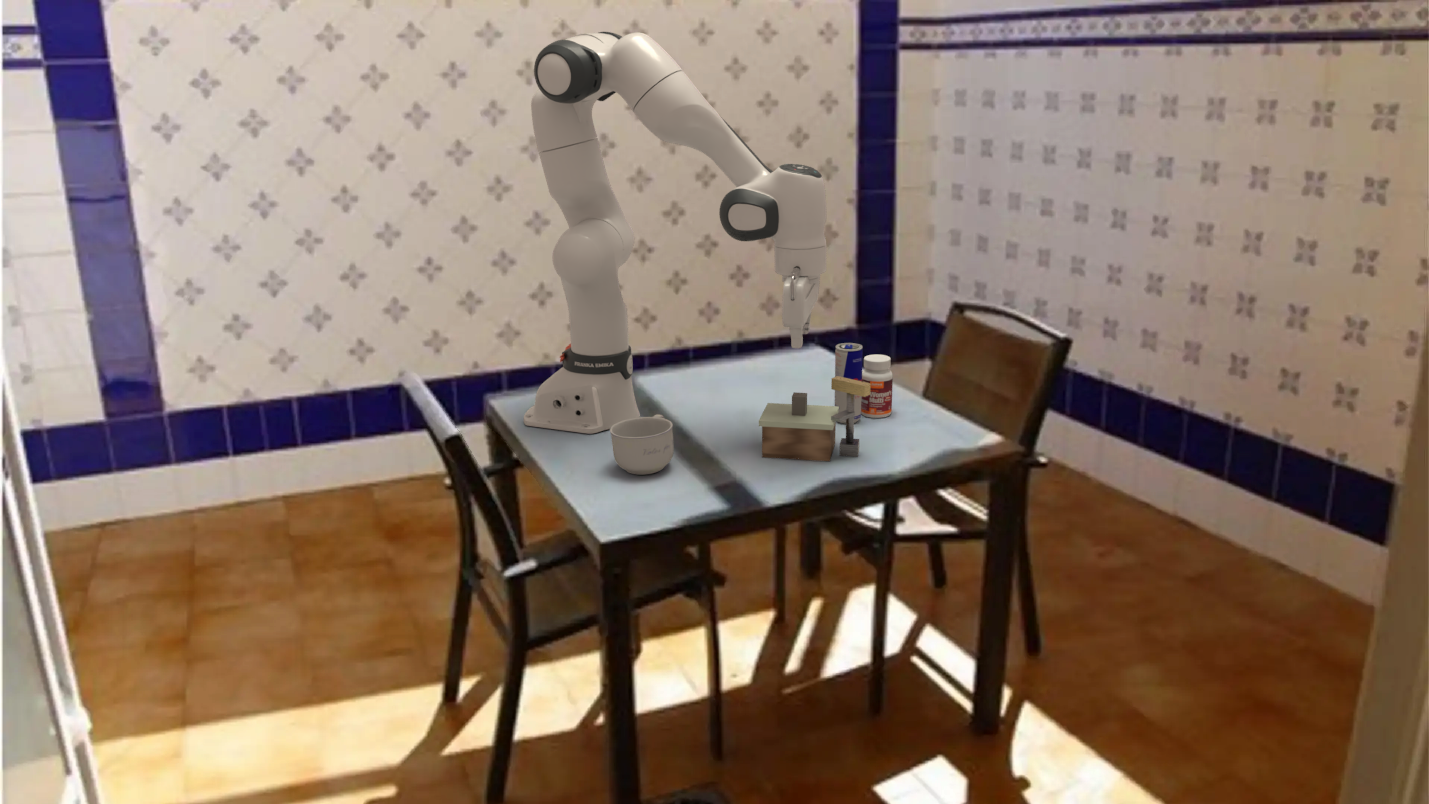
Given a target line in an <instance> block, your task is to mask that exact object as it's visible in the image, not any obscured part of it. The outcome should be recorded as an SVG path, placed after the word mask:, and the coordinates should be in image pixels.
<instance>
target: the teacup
mask: <svg viewBox="0 0 1429 804" xmlns="http://www.w3.org/2000/svg"><path fill="white" fill-rule="evenodd" d="M673 427H674V424H673V422H672V421H671V420H669V419H666V418H665V416H663V414H658V413H657V414H654V415H653V416H640V417H638V418H631V419H627V420H624V421H621V422H618V423H616V424H614V425H613V426H612V427H611V428H610V429H609V432H610V434H611V435H610V437H611V445H612V452H613V457H614V461H615V462H616V464H617V466H619V468H622V470H625V471H626V473H629V474H632V475H638V476H641V475H644V476H645V475H651V474H652V475H653V474H654V473H658V472H660V471H661V470H663V469H664V468H665V467H666V466H668V464H670V462H671V460H672V458H673V456H674V450H675V449H674V434H673V433H674V431H673Z"/></svg>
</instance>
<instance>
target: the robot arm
mask: <svg viewBox="0 0 1429 804" xmlns="http://www.w3.org/2000/svg"><path fill="white" fill-rule="evenodd" d="M533 75H534V79H535V83H536V85H537V87H538V90H537V91H535V92H534V95H533V96H532V98H531V102H530V103H531V104H530V107H531V109H530V111H531V121H532V127H533V133H534V139H535V143H536V147H537V152H538V155H539V159H540V162H541V167H542V170H543V173H544V177H545V180H546V184H547V189H548V192H549V194H550V196H551V198H552V199H553V200H554V201H555V202H556V204H557V205H558V207H559V209H560V210H561V212H562V215H563V216H564V219H565V221H566V222H567V223H566V224H567V225H568V229H566V230H565V231H564V232H563V233H562V234H561V235H560V236H559V239H558V240H557V241H556V244H555V246H554V248H553V252H552V265H553V268H554V270H555V272H556V274H557V275H558V276H559V277H560V281H561V285H562V287H563V291H564V296H565V300H566V304H567V310H568V311H567V312H568V318H569V319H568V320H569V335H570V336H569V337H570V343H569V344H568V345H567V346H566V347H565V349H564V351H562V352H561V355H559V363H562V367H561V368H559V369H558V370H557V371H556V372H554V373H553V374H552V375H550V377H548V378H547V379H546V380H544V381H543V383H541V384H540V386H539V387H538V389H537V391H536V394H535V398H534V404H533V405H532V406H531V407H530V408H528V409H527V410H526V412H525V413H524V415H523V424H524V425H525V426H528V427H536V428H542V429H543V428H544V429H549V430H551V429H552V430H556V431H558V430H559V431H566V432H574V433H581V434H589V435H591V434H596V433H600V432H602V431H606V430H610V428H611V427H612V426H613V425H614V424H616V423H618V422H621V421H624V420H627V419H631V418H638V417H641V414H640V411H639V408H638V404H637V402H636V397H635V393H634V392H635V391H634V387H633V380H632V375H633V371H634V369H633V365H634V364H633V355H632V348H631V346H630V344H629V343H630V341H629V320H628V319H629V318H628V317H629V315H628V307H627V303H626V302H625V301H624V297H623V295H622V291H621V286H620V282H619V281H620V280H619V268H620V267H621V266H623V265H625V263H626V262H627V261H628V260H629V258H630V256H631V255H632V252H633V249H634V244H635V239H636V237H635V231H634V230H633V227H632V225H631V223H630V222H629V221H628V220H627V219H626V217H625V215H624V213H623V209H622V208H621V206H620V203H619V201H618V198H617V196H616V195H615V192H614V190H613V188H612V185H611V183H610V179H609V177H608V173H607V170H606V166H605V163H604V158H603V153H602V150H601V146H600V143H599V140H598V139H599V138H598V135H597V131H596V128H595V124H594V121H593V108H594V105H595V103H596V102H597V101H599V102H605V101H606V100H607V99H609V98H610V97H611V96H612V95H614V94H618V95H619V96H620V97H621V98H622V99H623V101H624V102H625V103H626V104H627V106H628V107H629V109H631V111H632V113H634V115H635V116H636V117H637V119H638V120H639V121H640V122H641V124H642V125H643V126H644V128H646V129H647V130H648V131H649V132H650V133H652V135H654V136H655V137H656V138H657V139H659V140H660V141H662V142H665V143H669V144H673V145H680V146H683V147H687V148H690V149H694V150H696V151H699V152H701V153H702V154H704V155H706V156H707V157H708V158H710V160H712V161H713V163H714V164H715V165H716V166H717V167H718V168H719V169H720V170H721V172H723V174H724V175H725V176H726V177H727V178H728V179H729V181H730V182H732V184H733V185H734V186H735V187H734V188H733V189H732V190H730V191H729V192H727V193H726V194H725V195H724V197H723V198H722V200H721V202H720V205H719V210H718V211H719V220H720V223H721V226H722V228H723V230H724V231H725V232H726V233H727V234H728V236H729V237H731V238H733V239H734V240H737V241H738V242H739V241H740V242H756V241H760V240H765V239H771V240H773V242H774V272H775V273H776V274H778V275H781V281H782V282H783V285H782V287H783V288H782V303H781V304H782V306H781V311H782V313H781V317H782V318H781V319H782V325H783V328H784V327H785V328H788V329H789V335H790V339H791V340H790V341H791V342H790V345H791V348H792V349H801V348H802V347H803V344H804V341H803V339H804V338H803V335H807V334H809V333H810V330H811V329H810V328H811V316H812V312H813V311H812V310H813V309H814V307H815V305H816V303H817V302H818V297H819V291H820V283H821V281H820V280H821V275H822V274H825V273H826V272H827V240H826V239H827V238H826V235H825V225H826V222H827V195H826V186H825V181H824V178H823V175H822V174H821V172H820V171H818V170H817V169H815V168H814V167H811V166H808V165H805V164H797V163H796V164H794V163H784V164H781V165H779V166H778V167H777V168H776V169H775V170H772V169H771V168H769V167H768V166H767V165H766V164H765V163H764V162H763V161H762V160H761V159H760V158H759V157H758V155H756V153H755V152H754V151H753V150H752V148H750V147H749V145H748V144H746V142H745V141H744V140H743V139H742V137H741V136H739V134H738V133H737V132H736V131H735V130H734V129H733V128H732V127H731V125H730V124H729V123H728V122H727V121H726V119H724V118H723V117H722V116H721V115H720V114H719V113H718V111H716V109H715V108H714V107H713V106H712V105H711V104H710V103H709V101H708V100H707V99H706V98H705V96H704V95H703V94H702V93H701V92H700V90H699V89H698V88H697V87H696V85H695V84H694V82H693V81H692V80H691V79H690V77H689V76H688V75H687V74H686V72H685V70H684V69H682V67H681V66H680V65H679V64H678V63H677V61H676V60H675V59H674V58H673V57H672V56H671V54H669V53H668V52H667V51H666V50H665V49H664V48H663V47H662V45H660V44H659V43H658V42H657V41H656V40H655V39H654V38H652V37H651V36H649V34H646V33H643V32H639V31H638V32H631V33H628V34H626V35H620V34H618V33H615V32H611V31H610V32H609V31H600V32H599V31H598V32H587V33H580V34H577V35H574V36H572V37H568V38H566V39H558V40H554V41H553V42H551V43H550V44H547V45H546V46H544V48H543V49H541V50H540V51H539V53H538V54H537V56H536V58H535V61H534V67H533Z"/></svg>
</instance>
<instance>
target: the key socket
mask: <svg viewBox="0 0 1429 804" xmlns="http://www.w3.org/2000/svg"><path fill="white" fill-rule="evenodd" d="M839 442H840V443H839V457H850V458H851V457H853V458H858V457H859V454H860V438H854V442H846V437H845V438H843V437H841V439H840V441H839Z"/></svg>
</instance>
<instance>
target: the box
mask: <svg viewBox="0 0 1429 804" xmlns="http://www.w3.org/2000/svg"><path fill="white" fill-rule="evenodd" d="M836 425H837V421H836V422H835V425H834V428H833V430H820V429H801V428H782V427H763V426H761V458H765V459H767V458H768V459H784V460H785V459H786V460H798V461H799V460H800V461H802V460H803V461H820V462H830V461H831V459H832V455H833V452H834V449H835V446H836V427H837V426H836Z"/></svg>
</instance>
